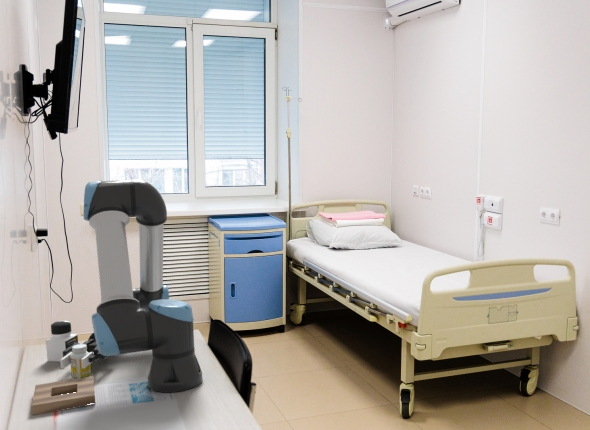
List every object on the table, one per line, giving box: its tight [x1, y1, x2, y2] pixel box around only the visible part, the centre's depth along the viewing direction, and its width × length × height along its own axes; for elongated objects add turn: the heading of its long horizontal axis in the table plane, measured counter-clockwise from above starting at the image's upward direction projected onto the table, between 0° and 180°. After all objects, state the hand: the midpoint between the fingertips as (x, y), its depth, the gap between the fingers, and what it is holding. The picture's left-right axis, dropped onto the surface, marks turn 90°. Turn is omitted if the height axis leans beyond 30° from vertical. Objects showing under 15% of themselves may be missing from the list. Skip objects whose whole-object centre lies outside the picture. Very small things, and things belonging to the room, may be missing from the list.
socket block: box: [31, 375, 96, 416], centre depth 158 cm, size 15×15×2 cm
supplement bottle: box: [70, 343, 92, 380], centre depth 174 cm, size 5×5×10 cm
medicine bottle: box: [45, 320, 79, 363], centre depth 192 cm, size 7×7×12 cm
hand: (72, 364), depth 168 cm, fingers closed on supplement bottle, 5 cm apart
